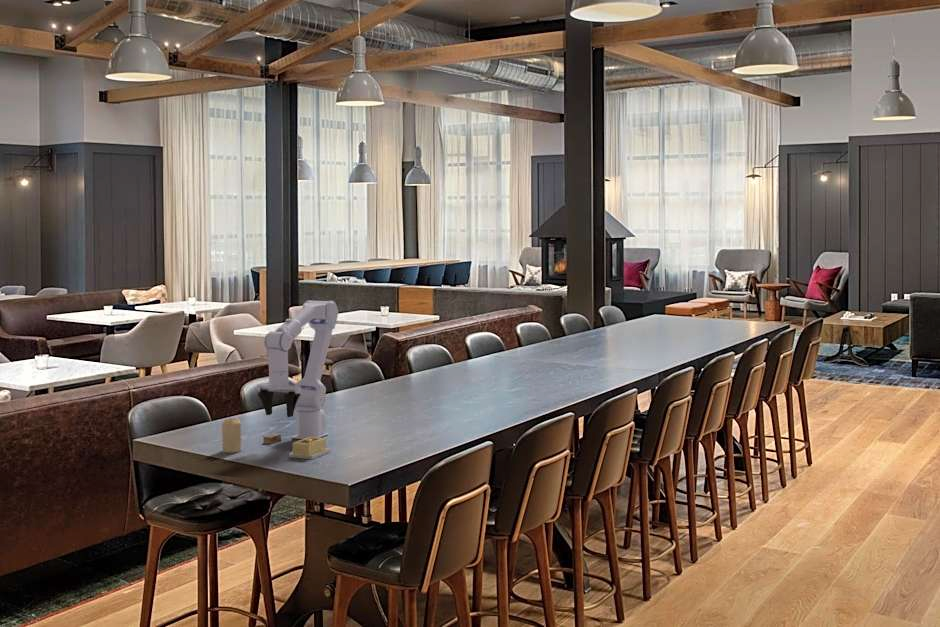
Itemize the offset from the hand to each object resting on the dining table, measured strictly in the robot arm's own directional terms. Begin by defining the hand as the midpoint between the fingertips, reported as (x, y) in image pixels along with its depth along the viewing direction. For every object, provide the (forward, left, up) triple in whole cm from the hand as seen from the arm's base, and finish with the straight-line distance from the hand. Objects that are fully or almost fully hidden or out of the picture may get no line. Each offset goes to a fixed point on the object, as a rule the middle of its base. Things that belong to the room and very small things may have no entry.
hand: (279, 415), depth 306 cm
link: (+4, +13, -9) cm, 16 cm away
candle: (+9, -11, -10) cm, 17 cm away
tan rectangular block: (-6, -7, -10) cm, 14 cm away
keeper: (+4, +13, -10) cm, 17 cm away
